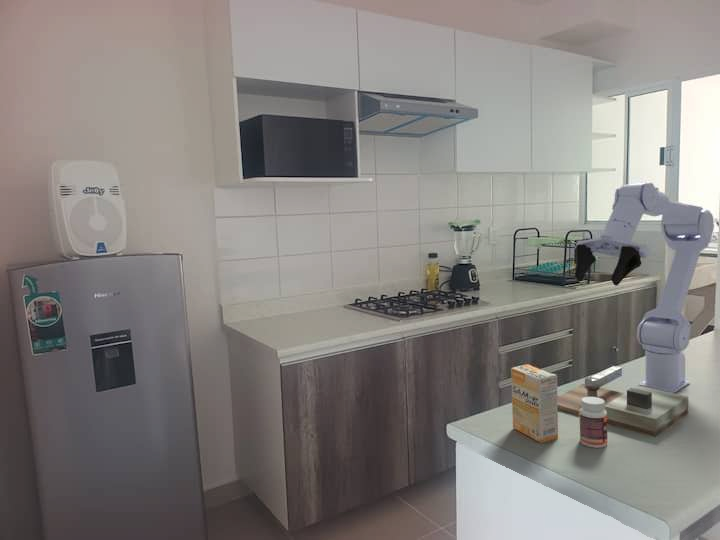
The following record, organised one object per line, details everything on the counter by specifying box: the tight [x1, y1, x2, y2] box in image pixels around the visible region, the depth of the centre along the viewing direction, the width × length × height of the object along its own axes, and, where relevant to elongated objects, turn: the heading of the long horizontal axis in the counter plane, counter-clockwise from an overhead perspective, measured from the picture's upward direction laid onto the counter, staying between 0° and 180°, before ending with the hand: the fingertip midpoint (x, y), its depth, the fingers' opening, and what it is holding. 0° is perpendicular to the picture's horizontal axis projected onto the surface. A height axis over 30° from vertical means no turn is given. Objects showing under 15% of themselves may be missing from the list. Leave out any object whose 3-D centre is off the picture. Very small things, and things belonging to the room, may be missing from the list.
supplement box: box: [510, 363, 559, 444], centre depth 102 cm, size 8×5×13 cm, turn 23°
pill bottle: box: [578, 397, 608, 449], centre depth 96 cm, size 5×5×8 cm
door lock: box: [557, 383, 689, 437], centre depth 111 cm, size 16×23×6 cm
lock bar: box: [584, 365, 623, 390], centre depth 117 cm, size 14×3×2 cm, turn 128°
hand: (595, 280), depth 105 cm, fingers open, 7 cm apart
